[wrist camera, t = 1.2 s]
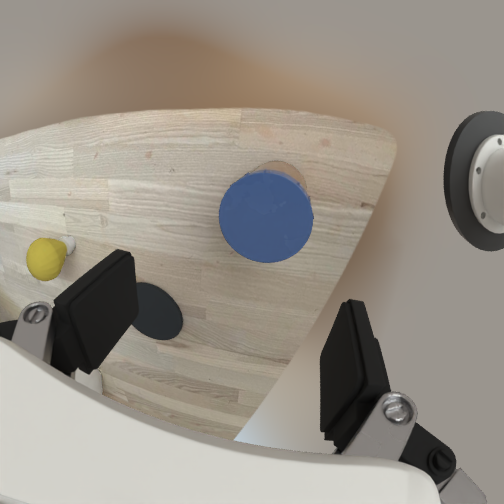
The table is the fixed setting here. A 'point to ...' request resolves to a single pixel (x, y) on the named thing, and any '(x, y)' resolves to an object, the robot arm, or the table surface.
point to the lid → (266, 216)
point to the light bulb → (48, 256)
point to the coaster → (157, 313)
